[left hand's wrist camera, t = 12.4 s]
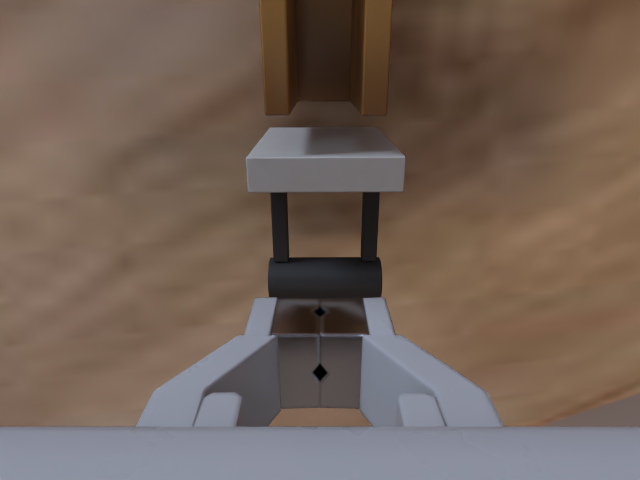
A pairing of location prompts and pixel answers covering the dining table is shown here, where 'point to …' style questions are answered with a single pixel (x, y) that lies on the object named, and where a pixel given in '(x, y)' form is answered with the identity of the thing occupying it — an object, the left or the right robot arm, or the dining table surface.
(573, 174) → the dining table surface
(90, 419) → the dining table surface
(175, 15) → the dining table surface
